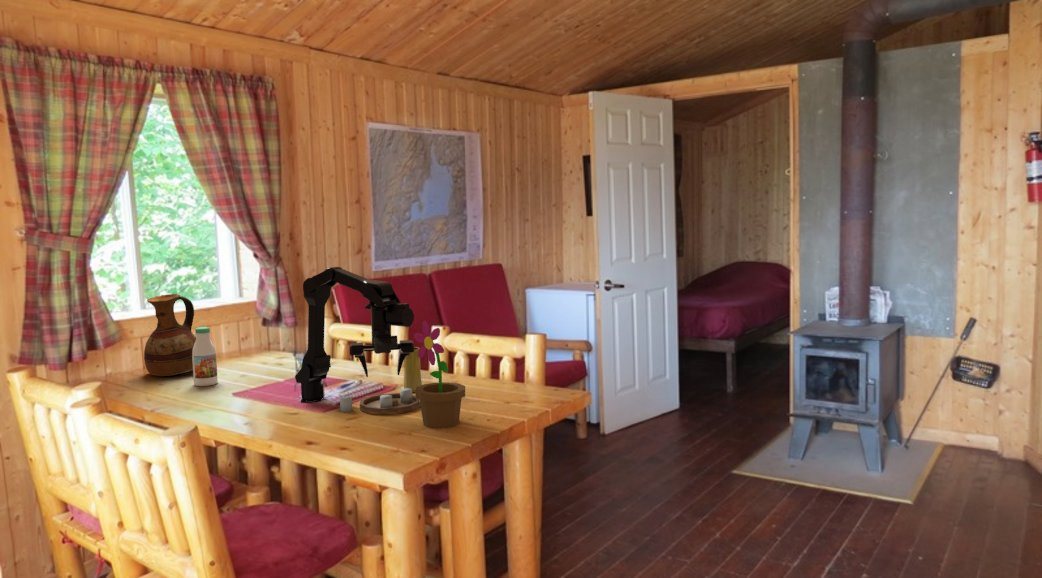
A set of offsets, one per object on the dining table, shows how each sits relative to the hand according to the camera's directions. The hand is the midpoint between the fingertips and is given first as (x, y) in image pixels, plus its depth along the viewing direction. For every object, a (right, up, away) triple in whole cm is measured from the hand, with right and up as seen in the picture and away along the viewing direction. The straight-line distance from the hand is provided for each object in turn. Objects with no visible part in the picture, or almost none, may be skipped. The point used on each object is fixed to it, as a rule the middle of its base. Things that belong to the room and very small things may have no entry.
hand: (382, 375), depth 231 cm
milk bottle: (-69, -8, +39) cm, 80 cm away
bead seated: (+6, -9, +9) cm, 14 cm away
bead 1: (-12, -11, +3) cm, 16 cm away
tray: (+1, -10, +6) cm, 12 cm away
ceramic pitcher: (-88, -6, +56) cm, 104 cm away
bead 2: (+1, -10, +1) cm, 10 cm away
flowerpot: (+19, -12, -12) cm, 26 cm away
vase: (+5, -8, +26) cm, 28 cm away
